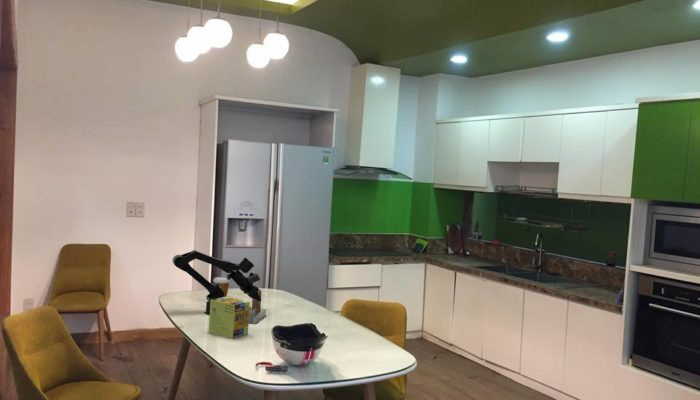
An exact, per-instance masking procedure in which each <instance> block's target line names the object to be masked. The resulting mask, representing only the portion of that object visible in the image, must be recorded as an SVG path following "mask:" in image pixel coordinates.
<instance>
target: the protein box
mask: <svg viewBox="0 0 700 400" xmlns="http://www.w3.org/2000/svg"><path fill="white" fill-rule="evenodd" d="M250 304H251V301H248V300H245V299H244V300H243V299H239V298H234V297H230V296H227V297H222V298H216V299H211V300H210V315H209V318H208V333H209V334H213V335H217V336H221V337H224V338H229V339H232V340H234V339H237V338H240V337H244V336H248V335H249V325H250V324H249V311H250V306H251V305H250Z"/></svg>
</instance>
